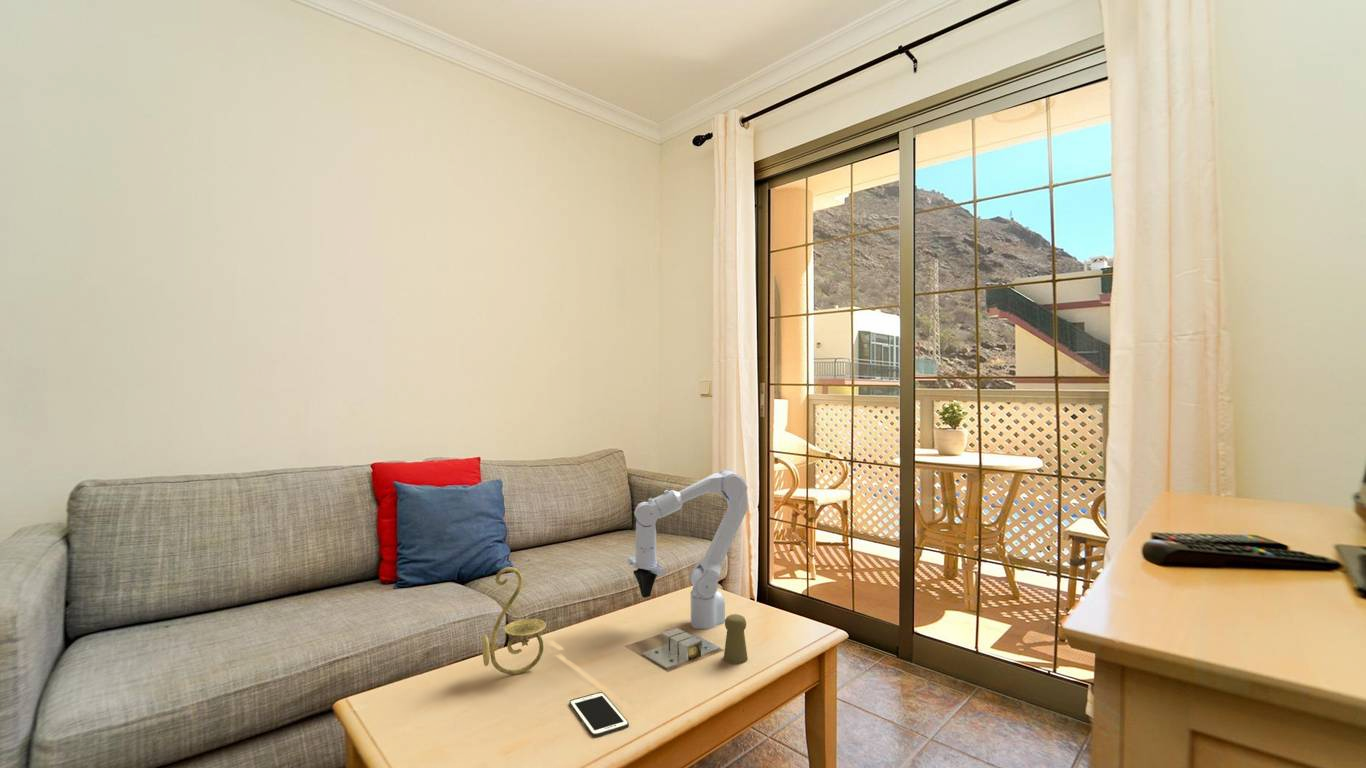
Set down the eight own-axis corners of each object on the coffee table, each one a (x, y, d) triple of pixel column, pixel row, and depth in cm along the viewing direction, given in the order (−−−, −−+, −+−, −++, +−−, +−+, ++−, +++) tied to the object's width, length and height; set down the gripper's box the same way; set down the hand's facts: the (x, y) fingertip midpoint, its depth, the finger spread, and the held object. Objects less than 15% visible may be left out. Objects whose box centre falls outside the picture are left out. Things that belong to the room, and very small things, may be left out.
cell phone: (602, 695, 127) (602, 690, 127) (630, 728, 115) (630, 723, 115) (567, 704, 124) (567, 700, 124) (593, 740, 111) (593, 735, 111)
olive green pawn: (719, 664, 141) (719, 618, 141) (729, 654, 146) (729, 609, 147) (742, 669, 138) (742, 622, 138) (751, 659, 144) (751, 614, 144)
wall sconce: (487, 690, 129) (487, 576, 129) (481, 672, 137) (481, 565, 138) (550, 676, 135) (550, 567, 135) (540, 659, 144) (540, 557, 144)
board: (679, 630, 161) (679, 627, 161) (724, 653, 147) (724, 650, 147) (624, 649, 149) (624, 645, 149) (667, 675, 135) (667, 671, 135)
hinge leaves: (694, 636, 155) (694, 622, 155) (720, 649, 147) (720, 634, 147) (642, 654, 144) (642, 639, 144) (666, 669, 137) (666, 653, 137)
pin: (664, 646, 149) (664, 635, 149) (673, 643, 151) (673, 632, 151) (689, 660, 141) (689, 648, 141) (698, 657, 143) (698, 645, 143)
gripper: (619, 543, 164) (619, 592, 164) (649, 554, 153) (649, 607, 153) (639, 539, 169) (639, 587, 169) (670, 550, 158) (671, 600, 157)
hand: (646, 596), depth 161 cm, fingers closed
